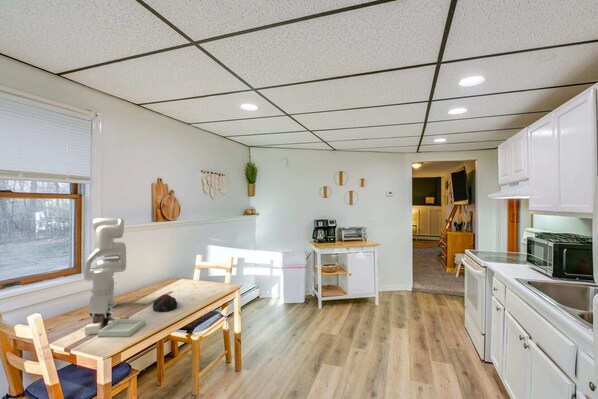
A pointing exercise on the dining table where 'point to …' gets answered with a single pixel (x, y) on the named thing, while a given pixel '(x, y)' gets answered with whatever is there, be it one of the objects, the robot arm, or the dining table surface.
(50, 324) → the dining table surface
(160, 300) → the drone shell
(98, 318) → the walnut block
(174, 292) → the dining table surface
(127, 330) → the tray
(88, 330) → the cream block
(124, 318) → the peach rounded capsule
